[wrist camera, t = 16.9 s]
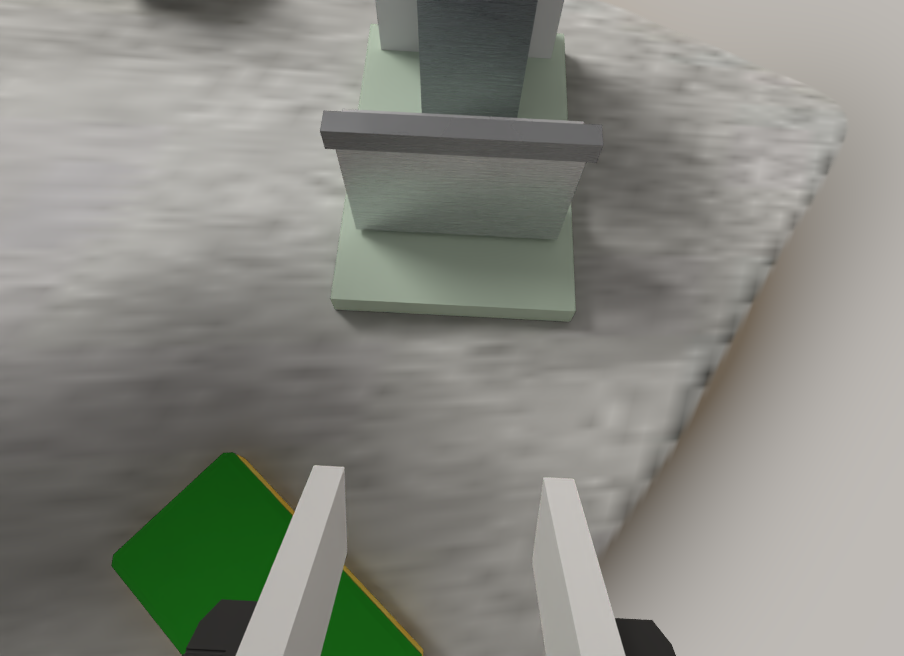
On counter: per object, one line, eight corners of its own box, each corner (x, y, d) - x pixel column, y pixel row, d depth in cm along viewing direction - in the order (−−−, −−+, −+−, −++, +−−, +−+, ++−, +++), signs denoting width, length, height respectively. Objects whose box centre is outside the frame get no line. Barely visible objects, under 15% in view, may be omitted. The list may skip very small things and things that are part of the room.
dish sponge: (243, 455, 30) (227, 447, 28) (428, 653, 26) (427, 662, 24) (132, 560, 28) (105, 560, 25) (317, 789, 24) (305, 812, 22)
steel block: (422, 131, 36) (413, -80, 24) (428, 64, 38) (423, -160, 26) (513, 136, 36) (550, -73, 24) (514, 68, 38) (548, -153, 26)
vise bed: (335, 309, 33) (288, 200, 23) (373, 41, 41) (351, -125, 31) (569, 321, 33) (627, 218, 23) (560, 51, 41) (598, -113, 31)
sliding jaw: (347, 228, 33) (319, 130, 25) (352, 194, 34) (327, 89, 26) (565, 240, 33) (603, 145, 25) (564, 204, 34) (600, 103, 26)
